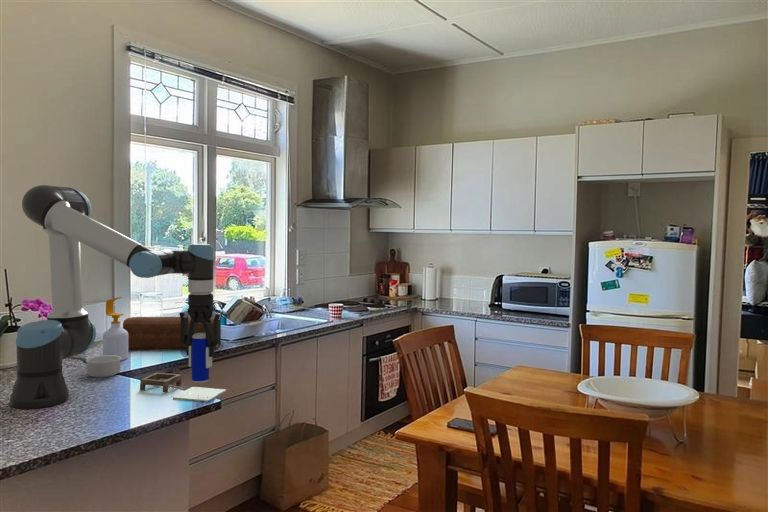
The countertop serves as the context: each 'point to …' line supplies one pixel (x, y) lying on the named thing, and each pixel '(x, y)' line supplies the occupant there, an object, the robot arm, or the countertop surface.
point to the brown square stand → (156, 381)
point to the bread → (157, 332)
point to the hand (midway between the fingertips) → (200, 366)
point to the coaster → (200, 394)
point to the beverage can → (199, 358)
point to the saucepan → (101, 365)
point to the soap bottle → (115, 335)
